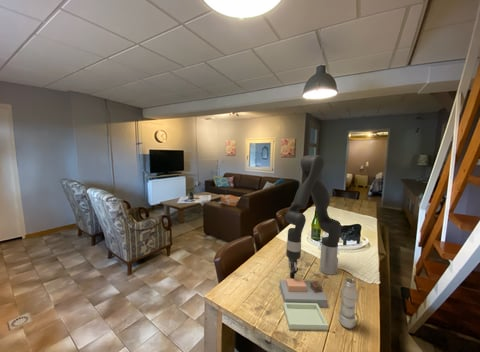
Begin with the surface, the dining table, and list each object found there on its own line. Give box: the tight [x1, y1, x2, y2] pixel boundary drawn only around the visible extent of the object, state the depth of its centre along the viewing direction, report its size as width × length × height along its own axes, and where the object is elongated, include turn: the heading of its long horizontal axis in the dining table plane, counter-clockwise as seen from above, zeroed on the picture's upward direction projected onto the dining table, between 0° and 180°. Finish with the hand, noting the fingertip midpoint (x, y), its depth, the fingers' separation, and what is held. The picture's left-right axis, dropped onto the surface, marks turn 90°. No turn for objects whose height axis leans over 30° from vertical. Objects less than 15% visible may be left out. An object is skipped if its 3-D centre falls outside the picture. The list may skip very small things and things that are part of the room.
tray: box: [282, 301, 329, 332], centre depth 88 cm, size 16×12×2 cm
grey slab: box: [279, 279, 329, 308], centre depth 101 cm, size 20×14×4 cm
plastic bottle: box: [338, 277, 359, 329], centre depth 84 cm, size 6×7×20 cm
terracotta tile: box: [285, 278, 307, 292], centre depth 101 cm, size 9×6×3 cm, turn 89°
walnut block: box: [310, 280, 323, 293], centre depth 100 cm, size 4×4×3 cm
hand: (292, 277), depth 108 cm, fingers closed
